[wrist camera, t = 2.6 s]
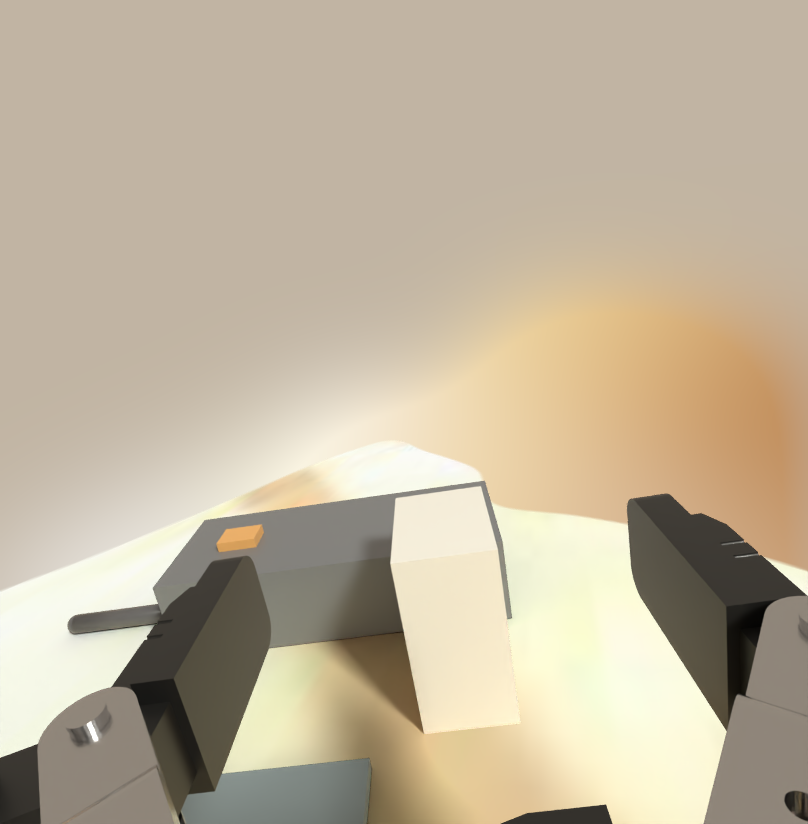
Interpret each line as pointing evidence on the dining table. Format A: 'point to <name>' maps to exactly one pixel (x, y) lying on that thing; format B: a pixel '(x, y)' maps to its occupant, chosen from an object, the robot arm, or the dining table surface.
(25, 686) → the dining table surface
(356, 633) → the socket strip
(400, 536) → the plug
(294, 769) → the mat
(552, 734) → the dining table surface
